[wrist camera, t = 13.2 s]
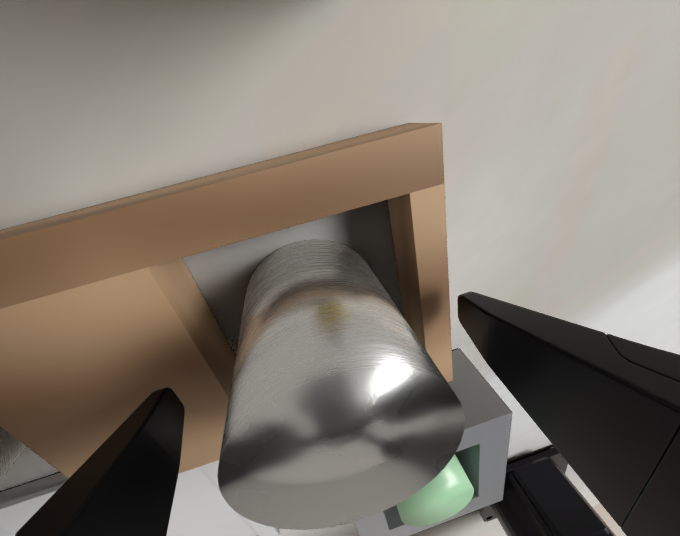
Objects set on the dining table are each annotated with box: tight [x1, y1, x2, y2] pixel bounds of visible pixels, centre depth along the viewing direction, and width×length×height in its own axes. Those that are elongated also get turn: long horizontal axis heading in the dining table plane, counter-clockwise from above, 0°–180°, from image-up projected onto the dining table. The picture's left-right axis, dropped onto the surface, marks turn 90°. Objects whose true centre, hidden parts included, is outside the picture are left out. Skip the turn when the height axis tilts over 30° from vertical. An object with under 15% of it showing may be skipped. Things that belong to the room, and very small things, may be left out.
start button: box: [396, 454, 474, 527], centre depth 13 cm, size 3×3×3 cm
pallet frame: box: [0, 123, 453, 478], centre depth 9 cm, size 10×22×2 cm, turn 103°
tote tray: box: [0, 460, 279, 536], centre depth 14 cm, size 10×10×1 cm
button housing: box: [354, 348, 512, 536], centre depth 14 cm, size 7×7×4 cm
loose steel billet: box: [217, 240, 465, 530], centre depth 8 cm, size 5×5×6 cm
